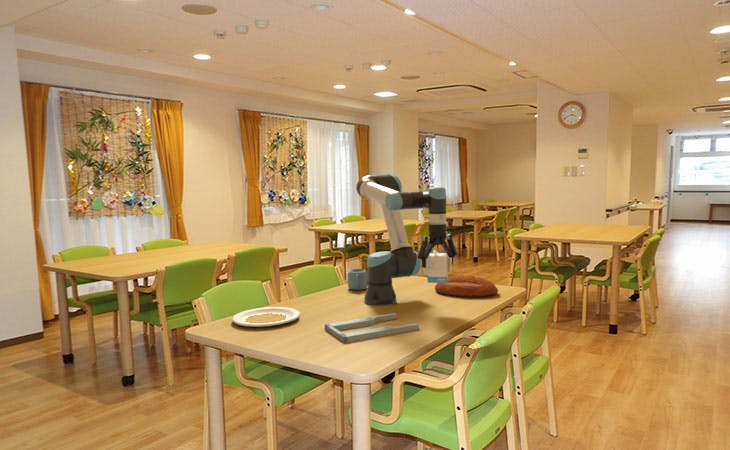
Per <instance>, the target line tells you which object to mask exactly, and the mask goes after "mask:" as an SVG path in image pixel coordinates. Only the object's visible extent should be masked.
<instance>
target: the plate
mask: <svg viewBox="0 0 730 450" xmlns="http://www.w3.org/2000/svg"><path fill="white" fill-rule="evenodd" d="M267 313H269V314H270V313H272V314H279V315H280V314H282V315H284V316H285V315H286V319H285V320H281V321H276V322H269V323H249V322H245V321H246V320H245V319H247V318H248V317H250V316H254V315H262V314H267ZM300 316H301V312H300V311H299V310H297V309H296V308H292V307H286V306H285V307H284V306H283V307H282V306H265V307H258V308H252V309H248V310H243V311H240V312H238V313H236V314H234V316H233V317H232V321H233V323H234V324H236V325H239V326H244V327H256V328H257V327H271V326H278V325H283V324H286V323H290V322H294V321H295V320H297V319H298V318H299V317H300Z"/></svg>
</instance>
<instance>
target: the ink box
mask: <svg viewBox="0 0 730 450" xmlns="http://www.w3.org/2000/svg"><path fill="white" fill-rule="evenodd" d="M448 257H449V256H448V253H446V252H438V251H437V250H436V249H433V250H432V252H430V254H429V256H428V258H427V259H426V260H428V276H426V278H427V284H430V283H431V284H437V283H447V280H448V277H449V276H448V275H449V274H448V273H449V272H448Z"/></svg>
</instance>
